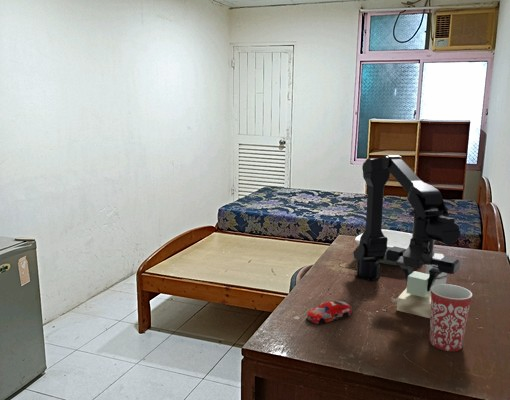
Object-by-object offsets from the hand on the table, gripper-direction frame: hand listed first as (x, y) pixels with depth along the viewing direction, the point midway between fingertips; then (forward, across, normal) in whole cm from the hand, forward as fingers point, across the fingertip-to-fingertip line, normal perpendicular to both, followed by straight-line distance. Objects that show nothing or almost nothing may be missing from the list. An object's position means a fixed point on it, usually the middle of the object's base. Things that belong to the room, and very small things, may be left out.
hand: (418, 288), depth 128 cm
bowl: (+6, -24, +36) cm, 44 cm away
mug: (+6, +12, -14) cm, 19 cm away
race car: (+6, -16, -21) cm, 27 cm away
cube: (+1, 0, 0) cm, 1 cm away
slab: (+6, 0, 0) cm, 6 cm away
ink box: (+6, 0, +14) cm, 15 cm away
